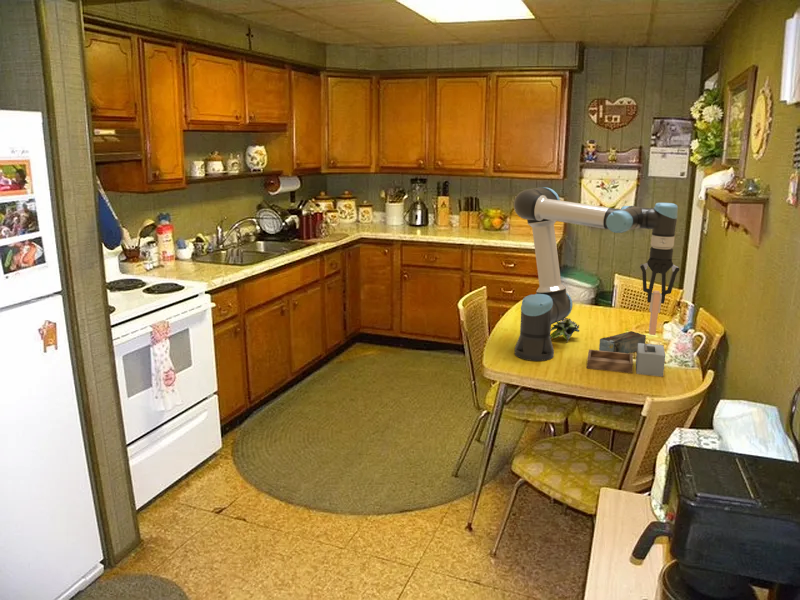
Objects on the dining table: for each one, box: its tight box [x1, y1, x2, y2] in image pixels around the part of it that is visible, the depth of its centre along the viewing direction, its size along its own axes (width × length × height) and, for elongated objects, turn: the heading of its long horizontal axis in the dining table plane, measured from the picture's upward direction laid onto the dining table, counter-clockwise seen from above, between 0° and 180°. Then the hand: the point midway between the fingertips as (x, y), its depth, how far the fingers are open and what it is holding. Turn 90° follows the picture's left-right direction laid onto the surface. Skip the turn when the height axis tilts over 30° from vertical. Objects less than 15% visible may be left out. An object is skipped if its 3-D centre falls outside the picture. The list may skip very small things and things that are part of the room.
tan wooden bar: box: [648, 290, 661, 336], centre depth 234 cm, size 2×6×15 cm, turn 162°
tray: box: [586, 349, 634, 374], centre depth 243 cm, size 16×12×4 cm
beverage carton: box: [598, 330, 647, 354], centre depth 259 cm, size 8×19×7 cm, turn 121°
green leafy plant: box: [550, 317, 580, 343], centre depth 272 cm, size 11×11×12 cm
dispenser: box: [635, 343, 666, 378], centre depth 238 cm, size 9×12×9 cm
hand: (654, 311), depth 234 cm, fingers closed on tan wooden bar, 2 cm apart
